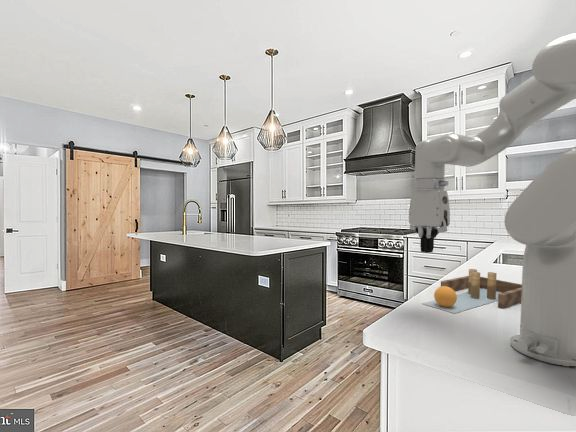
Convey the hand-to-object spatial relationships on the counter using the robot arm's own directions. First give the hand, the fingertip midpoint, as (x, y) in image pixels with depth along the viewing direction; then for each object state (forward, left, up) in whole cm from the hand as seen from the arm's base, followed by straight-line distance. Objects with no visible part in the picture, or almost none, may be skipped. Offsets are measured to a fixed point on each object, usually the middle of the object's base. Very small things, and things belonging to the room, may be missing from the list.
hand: (426, 251), depth 87 cm
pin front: (+26, 0, -17) cm, 31 cm away
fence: (+33, 0, -17) cm, 37 cm away
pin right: (+30, -3, -17) cm, 35 cm away
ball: (+9, 0, -14) cm, 17 cm away
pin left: (+30, +3, -17) cm, 35 cm away
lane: (+24, 0, -17) cm, 29 cm away
